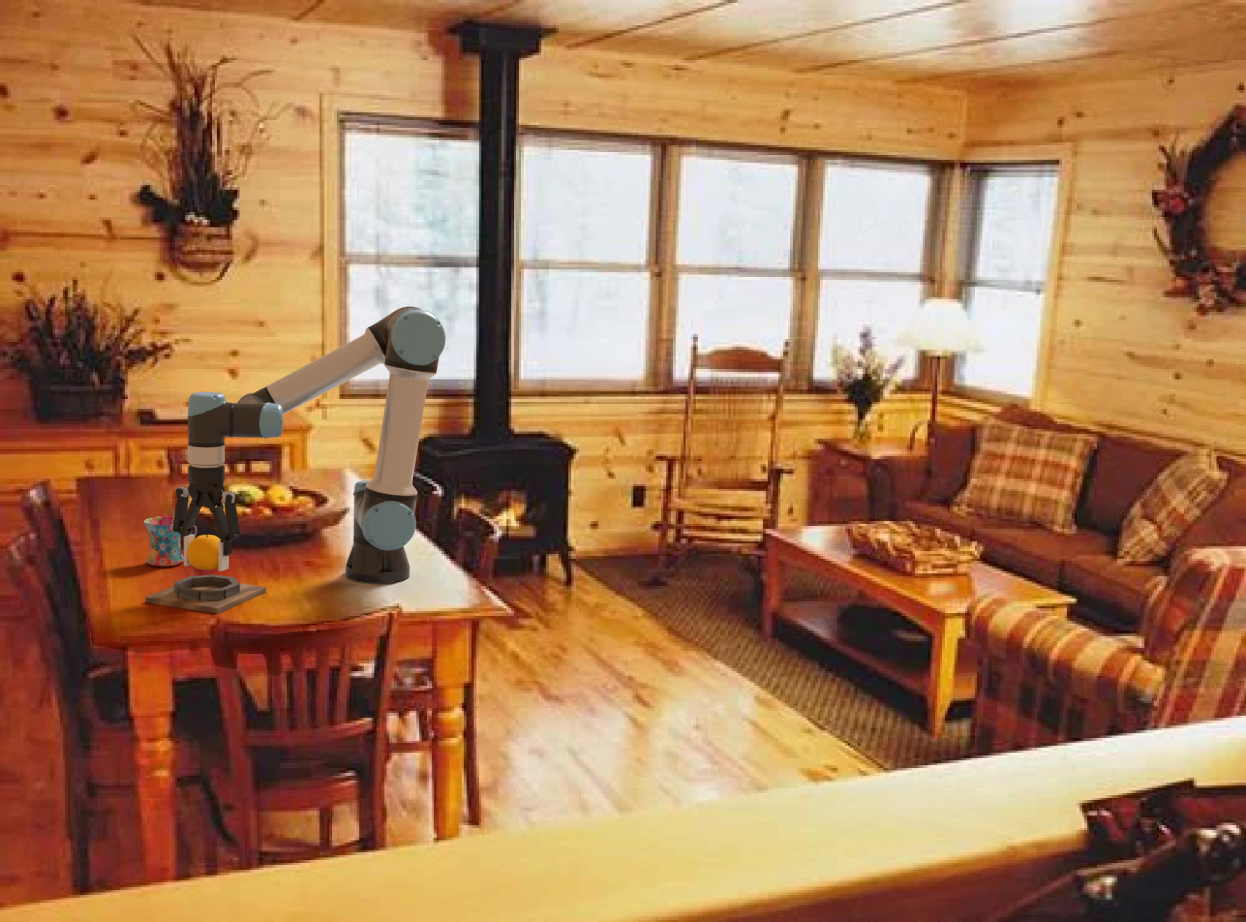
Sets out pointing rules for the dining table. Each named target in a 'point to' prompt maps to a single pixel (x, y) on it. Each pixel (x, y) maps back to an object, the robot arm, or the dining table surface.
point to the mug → (164, 542)
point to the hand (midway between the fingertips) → (206, 566)
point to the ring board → (206, 605)
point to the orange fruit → (204, 552)
